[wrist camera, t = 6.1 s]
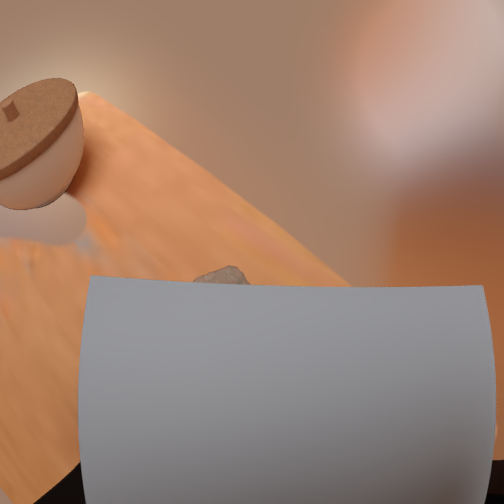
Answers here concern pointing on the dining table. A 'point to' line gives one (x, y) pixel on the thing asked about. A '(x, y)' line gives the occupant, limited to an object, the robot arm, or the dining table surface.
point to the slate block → (285, 394)
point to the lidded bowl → (39, 143)
